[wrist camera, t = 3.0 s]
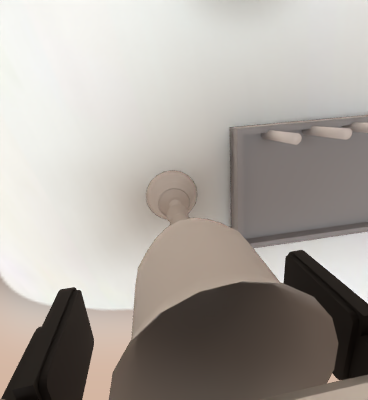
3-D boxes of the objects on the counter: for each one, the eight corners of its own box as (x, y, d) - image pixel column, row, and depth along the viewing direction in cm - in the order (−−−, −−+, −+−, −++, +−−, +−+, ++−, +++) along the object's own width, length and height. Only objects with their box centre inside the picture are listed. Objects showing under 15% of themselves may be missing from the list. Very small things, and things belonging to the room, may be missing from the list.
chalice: (149, 149, 22) (154, 253, 5) (216, 171, 24) (382, 305, 7) (128, 219, 24) (82, 459, 7) (191, 236, 26) (273, 463, 9)
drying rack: (402, 111, 24) (478, 110, 19) (379, 220, 29) (436, 245, 23) (230, 127, 23) (257, 131, 17) (231, 241, 27) (253, 274, 21)
